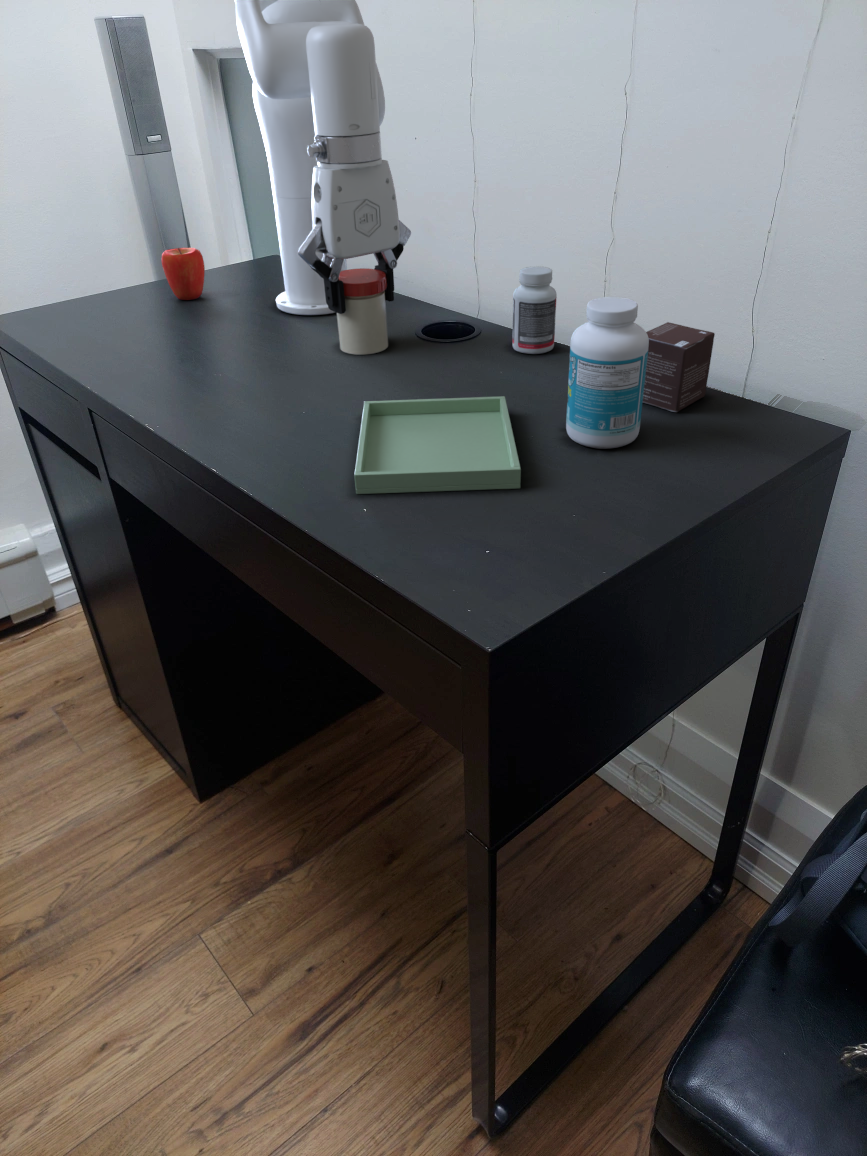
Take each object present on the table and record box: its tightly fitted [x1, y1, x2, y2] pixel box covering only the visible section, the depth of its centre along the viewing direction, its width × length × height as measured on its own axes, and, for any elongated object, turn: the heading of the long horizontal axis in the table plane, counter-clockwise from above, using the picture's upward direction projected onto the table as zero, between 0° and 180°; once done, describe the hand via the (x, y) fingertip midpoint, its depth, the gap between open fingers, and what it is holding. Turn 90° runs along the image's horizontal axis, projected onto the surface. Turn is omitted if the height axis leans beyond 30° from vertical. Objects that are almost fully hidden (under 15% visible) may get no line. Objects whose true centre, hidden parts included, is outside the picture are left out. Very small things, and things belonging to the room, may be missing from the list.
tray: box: [353, 395, 522, 495], centre depth 84 cm, size 17×15×2 cm
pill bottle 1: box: [511, 265, 558, 355], centre depth 106 cm, size 5×5×10 cm
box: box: [642, 321, 716, 413], centre depth 92 cm, size 6×6×7 cm
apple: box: [161, 247, 206, 301], centre depth 131 cm, size 6×6×8 cm
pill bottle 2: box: [565, 296, 649, 450], centre depth 83 cm, size 8×7×14 cm
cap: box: [339, 267, 387, 297], centre depth 107 cm, size 7×7×2 cm
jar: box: [336, 291, 389, 356], centre depth 109 cm, size 6×6×8 cm
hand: (361, 304), depth 108 cm, fingers closed on cap, 6 cm apart
